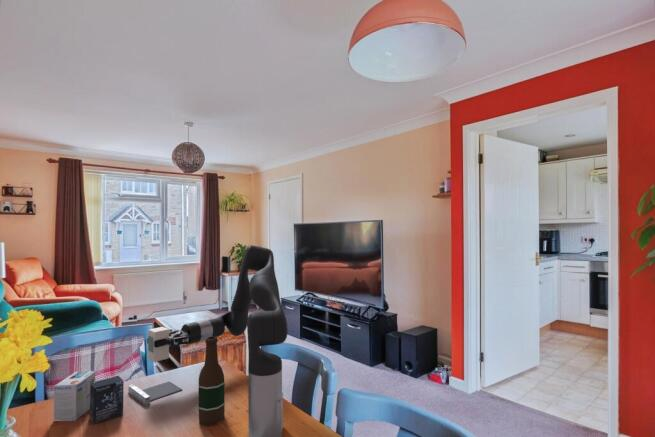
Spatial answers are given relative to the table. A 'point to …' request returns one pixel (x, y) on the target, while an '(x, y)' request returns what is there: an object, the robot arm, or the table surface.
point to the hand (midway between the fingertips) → (151, 342)
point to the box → (106, 399)
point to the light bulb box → (73, 396)
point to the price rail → (139, 395)
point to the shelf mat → (161, 390)
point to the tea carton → (158, 352)
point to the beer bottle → (211, 387)
